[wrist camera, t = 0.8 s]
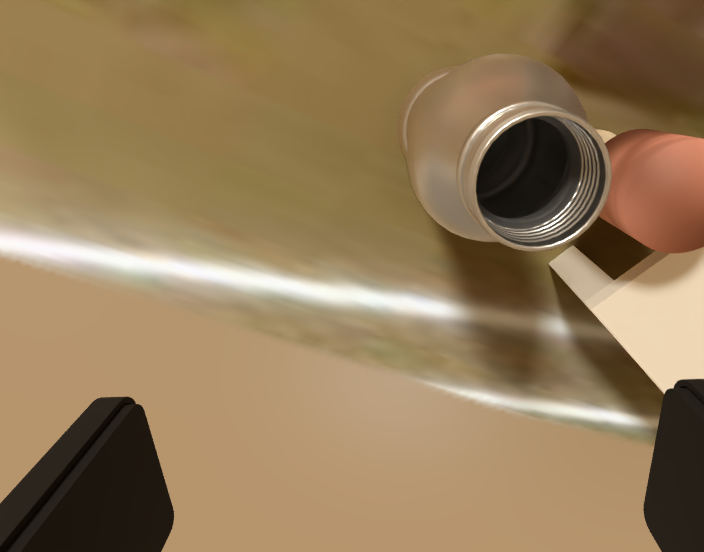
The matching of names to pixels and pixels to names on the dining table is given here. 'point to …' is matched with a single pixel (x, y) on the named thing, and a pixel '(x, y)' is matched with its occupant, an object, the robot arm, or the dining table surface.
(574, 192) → the plastic bottle
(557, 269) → the keyhole plate
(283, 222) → the dining table surface
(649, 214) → the peg
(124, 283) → the dining table surface
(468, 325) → the dining table surface
